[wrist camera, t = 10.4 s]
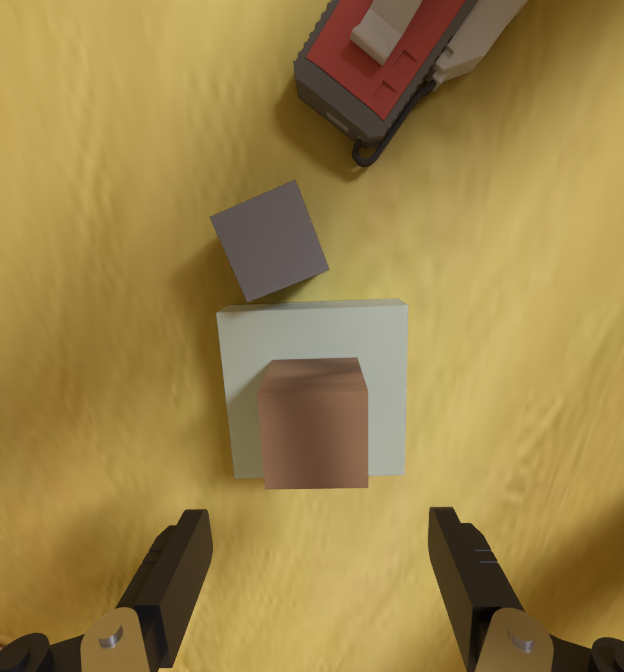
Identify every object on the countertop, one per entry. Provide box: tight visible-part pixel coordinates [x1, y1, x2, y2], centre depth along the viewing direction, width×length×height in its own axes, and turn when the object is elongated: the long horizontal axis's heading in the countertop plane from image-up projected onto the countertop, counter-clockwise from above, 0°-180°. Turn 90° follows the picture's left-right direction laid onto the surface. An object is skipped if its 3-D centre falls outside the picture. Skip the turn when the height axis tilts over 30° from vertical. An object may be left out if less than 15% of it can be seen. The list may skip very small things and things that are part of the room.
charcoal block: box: [210, 180, 329, 303], centre depth 22 cm, size 5×5×5 cm
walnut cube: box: [257, 357, 368, 489], centre depth 21 cm, size 6×6×6 cm
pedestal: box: [216, 298, 408, 479], centre depth 25 cm, size 12×12×3 cm
